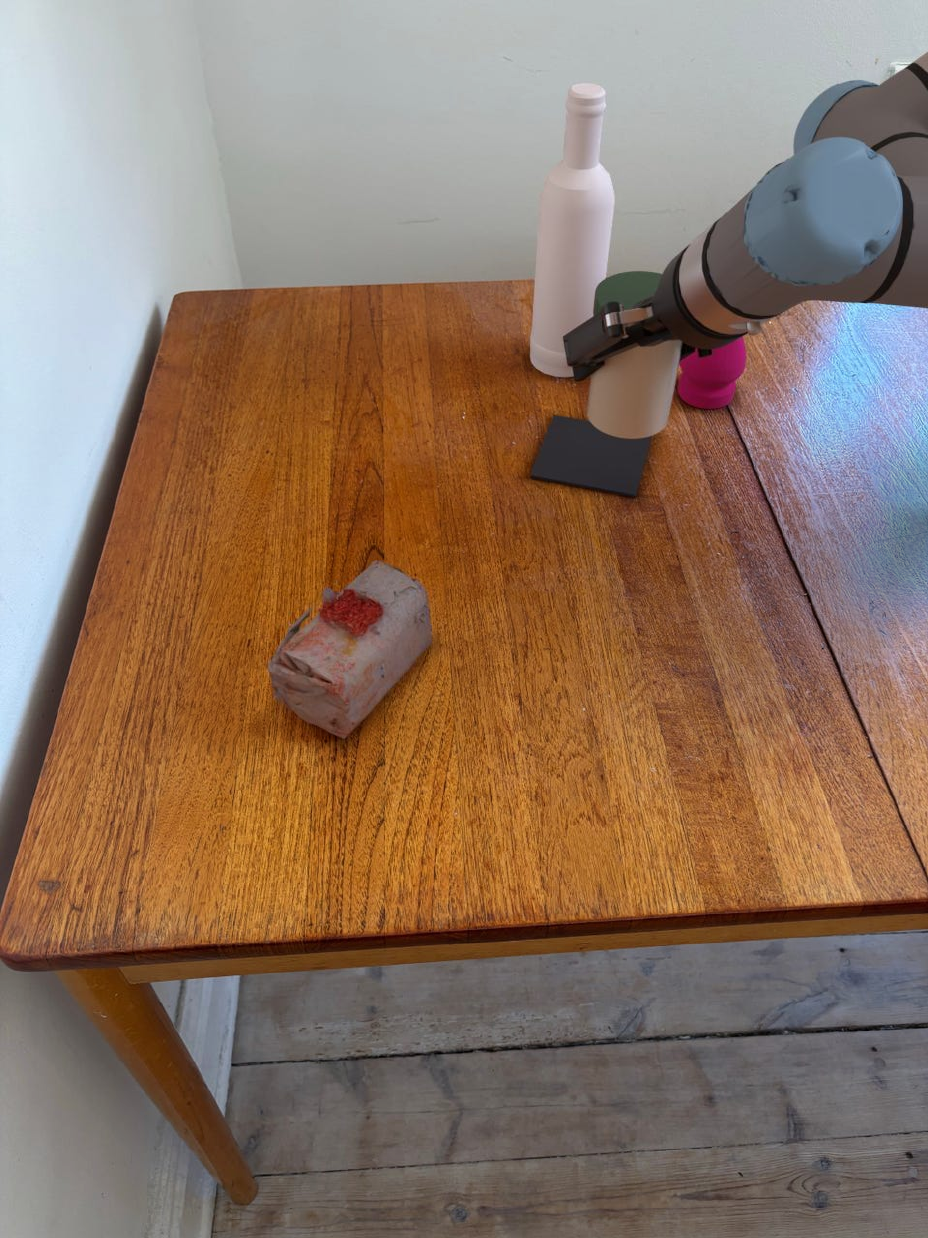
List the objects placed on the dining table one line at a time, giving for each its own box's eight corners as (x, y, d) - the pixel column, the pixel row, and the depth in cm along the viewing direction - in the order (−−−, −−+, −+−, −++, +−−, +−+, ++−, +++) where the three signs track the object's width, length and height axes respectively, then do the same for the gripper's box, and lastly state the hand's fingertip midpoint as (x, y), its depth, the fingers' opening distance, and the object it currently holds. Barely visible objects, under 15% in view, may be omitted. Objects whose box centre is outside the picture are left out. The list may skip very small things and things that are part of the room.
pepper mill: (679, 412, 112) (713, 240, 97) (668, 375, 117) (699, 206, 102) (743, 411, 112) (787, 240, 98) (729, 375, 117) (769, 206, 103)
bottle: (515, 358, 119) (528, 86, 97) (561, 334, 123) (584, 67, 101) (563, 386, 115) (589, 111, 93) (610, 361, 119) (645, 90, 97)
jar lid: (698, 297, 88) (701, 278, 87) (686, 347, 82) (690, 328, 81) (602, 284, 90) (604, 265, 88) (584, 332, 84) (586, 313, 83)
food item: (346, 757, 80) (335, 677, 73) (269, 713, 83) (251, 632, 76) (441, 649, 88) (440, 567, 81) (368, 612, 91) (360, 530, 84)
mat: (652, 435, 109) (653, 432, 109) (635, 498, 102) (635, 495, 102) (553, 417, 111) (553, 414, 111) (529, 478, 104) (529, 474, 104)
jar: (674, 397, 95) (694, 285, 87) (662, 445, 90) (683, 330, 82) (594, 385, 97) (607, 273, 88) (579, 431, 92) (591, 316, 83)
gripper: (596, 356, 69) (519, 416, 92) (866, 318, 73) (728, 385, 95) (578, 246, 69) (505, 334, 91) (850, 213, 72) (715, 306, 95)
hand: (619, 360), depth 93 cm, fingers closed on jar, 8 cm apart
